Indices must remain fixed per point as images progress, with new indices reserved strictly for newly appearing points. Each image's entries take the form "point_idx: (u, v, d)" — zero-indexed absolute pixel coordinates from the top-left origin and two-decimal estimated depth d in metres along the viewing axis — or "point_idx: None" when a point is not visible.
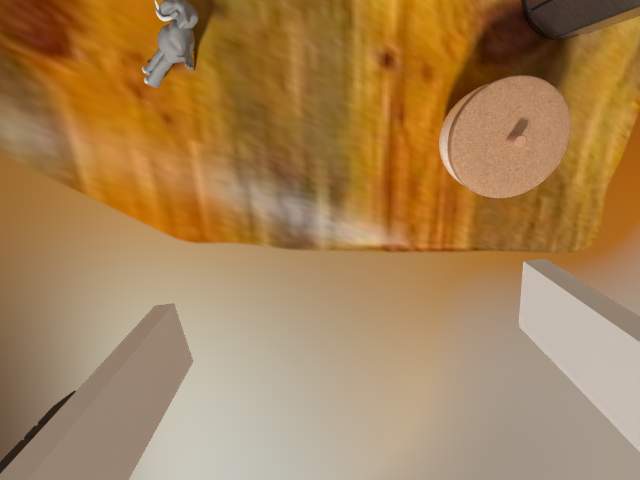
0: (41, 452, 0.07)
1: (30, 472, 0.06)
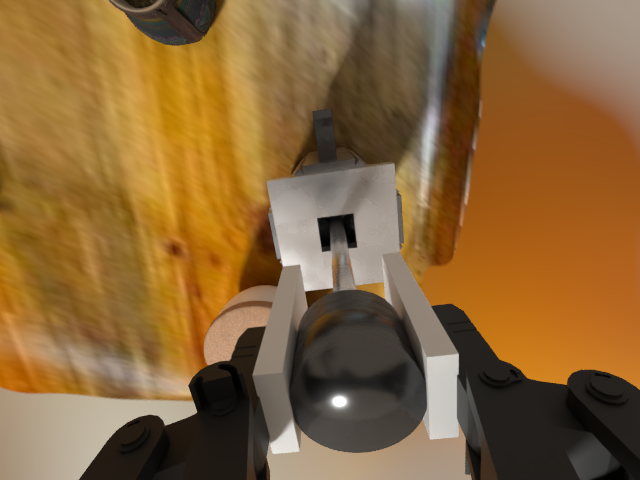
0: (276, 357, 0.09)
1: (279, 367, 0.08)
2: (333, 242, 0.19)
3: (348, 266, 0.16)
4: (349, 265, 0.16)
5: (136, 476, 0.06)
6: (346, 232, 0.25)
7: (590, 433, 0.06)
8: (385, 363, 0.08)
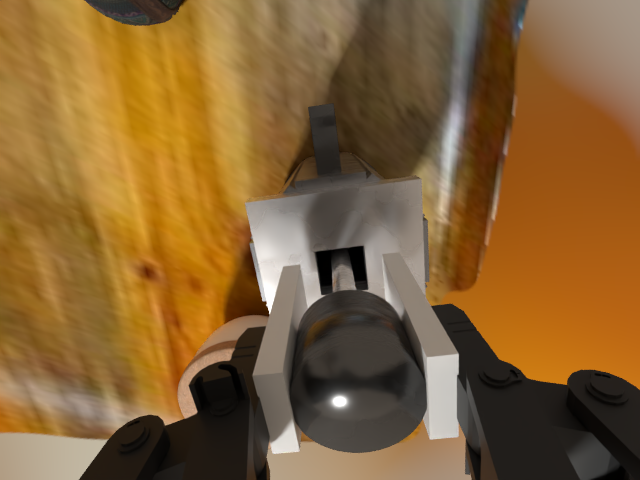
0: (276, 357, 0.09)
1: (279, 367, 0.08)
2: None
3: (347, 266, 0.16)
4: (349, 265, 0.16)
5: (136, 476, 0.06)
6: None
7: (590, 433, 0.06)
8: (385, 363, 0.08)
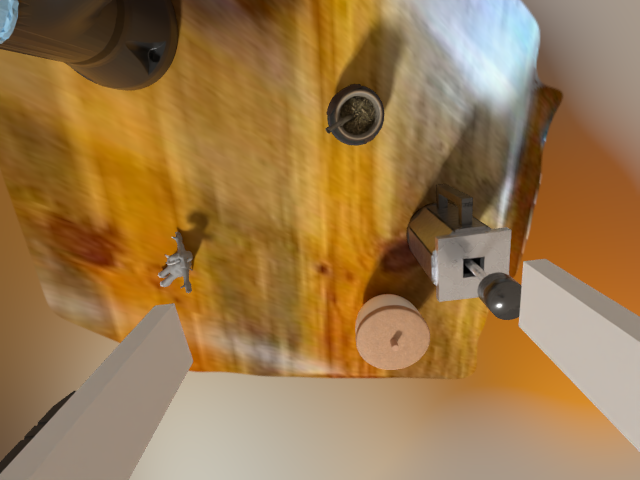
0: (41, 452, 0.07)
1: (30, 472, 0.06)
2: None
3: None
4: None
5: None
6: None
7: None
8: (520, 290, 0.30)
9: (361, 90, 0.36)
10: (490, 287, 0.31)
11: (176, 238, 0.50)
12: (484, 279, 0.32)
